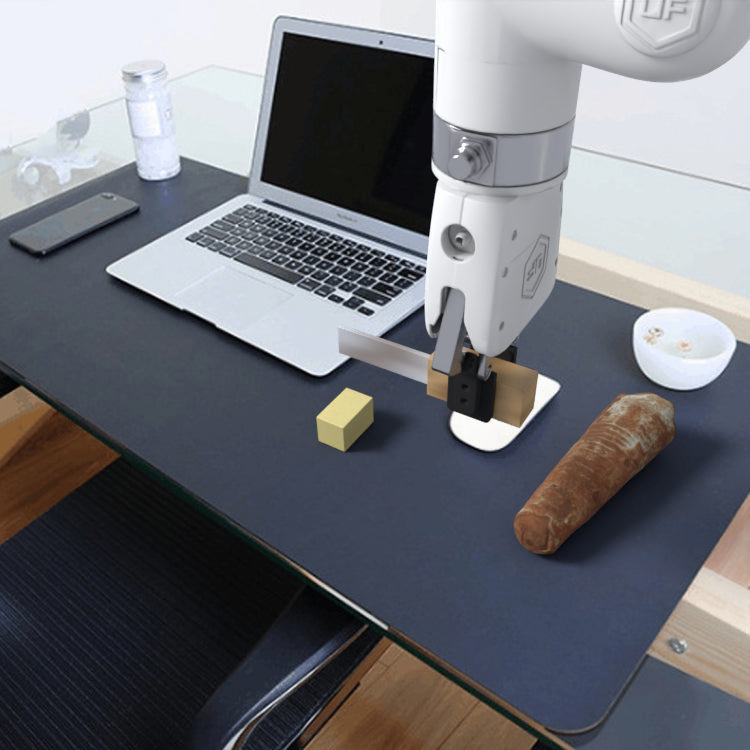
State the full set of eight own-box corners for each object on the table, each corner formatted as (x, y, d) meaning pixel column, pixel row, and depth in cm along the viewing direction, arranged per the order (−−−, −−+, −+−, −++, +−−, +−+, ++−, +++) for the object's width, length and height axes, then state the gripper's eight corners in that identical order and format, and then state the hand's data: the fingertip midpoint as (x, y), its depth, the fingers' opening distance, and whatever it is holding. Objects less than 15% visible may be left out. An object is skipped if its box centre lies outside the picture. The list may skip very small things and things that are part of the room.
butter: (347, 411, 78) (346, 387, 76) (373, 421, 76) (373, 397, 74) (318, 441, 74) (316, 416, 72) (344, 452, 73) (343, 428, 71)
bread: (674, 452, 72) (688, 405, 69) (550, 575, 62) (559, 527, 58) (613, 420, 76) (623, 374, 72) (486, 531, 65) (491, 484, 62)
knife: (331, 359, 59) (328, 324, 57) (348, 343, 60) (347, 308, 58) (519, 428, 52) (524, 391, 50) (533, 408, 54) (539, 371, 52)
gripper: (502, 217, 36) (478, 495, 48) (615, 108, 47) (573, 356, 58) (364, 183, 40) (372, 451, 51) (499, 88, 50) (481, 327, 62)
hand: (479, 399), depth 55 cm, fingers closed on knife, 2 cm apart
